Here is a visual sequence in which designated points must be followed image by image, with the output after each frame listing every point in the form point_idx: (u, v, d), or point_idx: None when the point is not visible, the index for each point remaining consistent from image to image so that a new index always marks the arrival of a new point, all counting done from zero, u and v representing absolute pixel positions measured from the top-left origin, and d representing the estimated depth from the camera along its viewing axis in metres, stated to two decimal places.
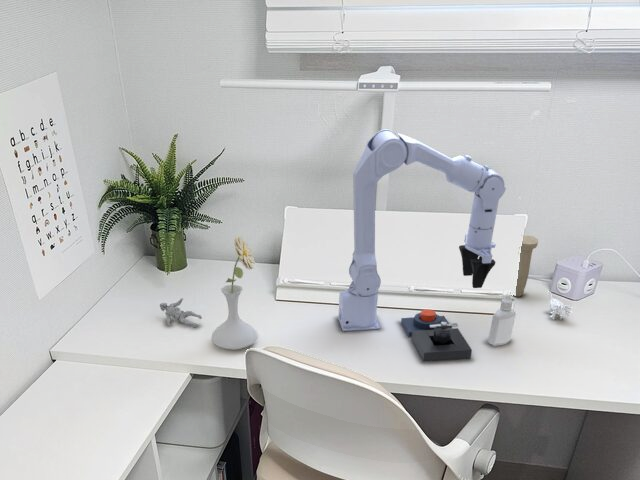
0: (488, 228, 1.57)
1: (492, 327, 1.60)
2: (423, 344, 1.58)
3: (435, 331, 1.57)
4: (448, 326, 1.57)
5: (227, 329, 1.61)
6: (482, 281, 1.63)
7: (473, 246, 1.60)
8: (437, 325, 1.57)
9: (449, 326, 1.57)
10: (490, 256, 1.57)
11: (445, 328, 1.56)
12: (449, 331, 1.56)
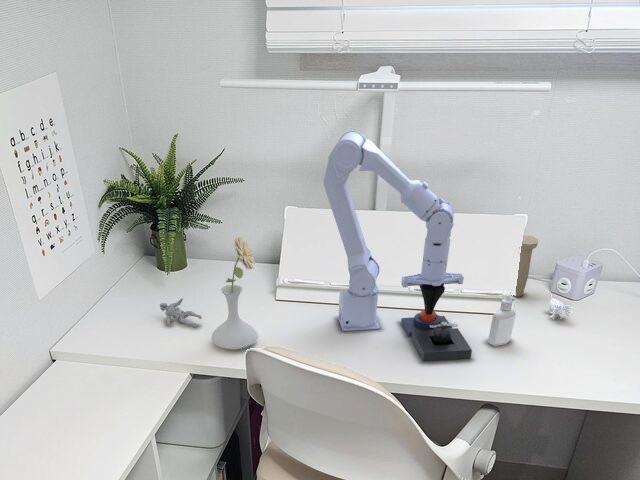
0: (437, 262, 1.56)
1: (492, 327, 1.60)
2: (423, 344, 1.58)
3: (435, 331, 1.57)
4: (448, 326, 1.57)
5: (227, 329, 1.61)
6: (426, 308, 1.65)
7: None
8: (437, 325, 1.57)
9: (449, 326, 1.57)
10: (403, 280, 1.60)
11: (445, 328, 1.56)
12: (449, 331, 1.56)
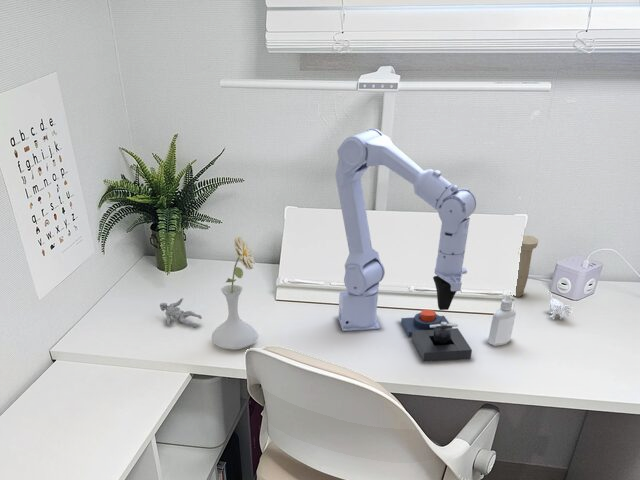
0: (449, 253, 1.46)
1: (492, 327, 1.60)
2: (423, 344, 1.58)
3: (435, 331, 1.57)
4: (448, 326, 1.57)
5: (227, 329, 1.61)
6: (448, 303, 1.55)
7: (442, 272, 1.49)
8: (437, 325, 1.57)
9: (449, 326, 1.57)
10: (459, 284, 1.45)
11: (445, 328, 1.56)
12: (449, 331, 1.56)
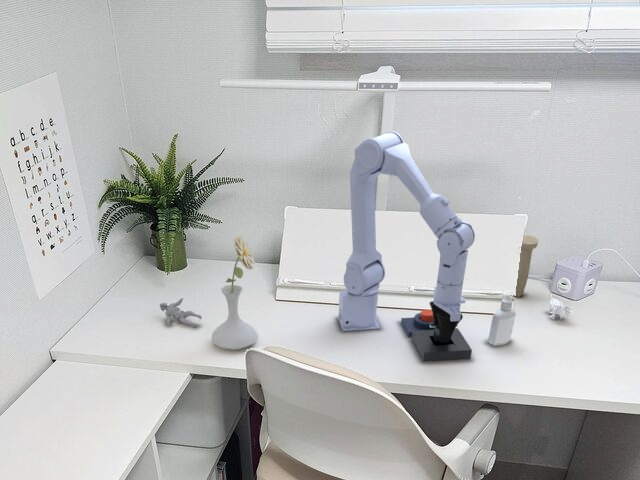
0: (447, 284, 1.48)
1: (492, 327, 1.60)
2: (423, 344, 1.58)
3: (435, 331, 1.57)
4: None
5: (227, 329, 1.61)
6: (450, 335, 1.56)
7: (441, 302, 1.51)
8: (437, 325, 1.57)
9: None
10: (459, 314, 1.48)
11: None
12: None
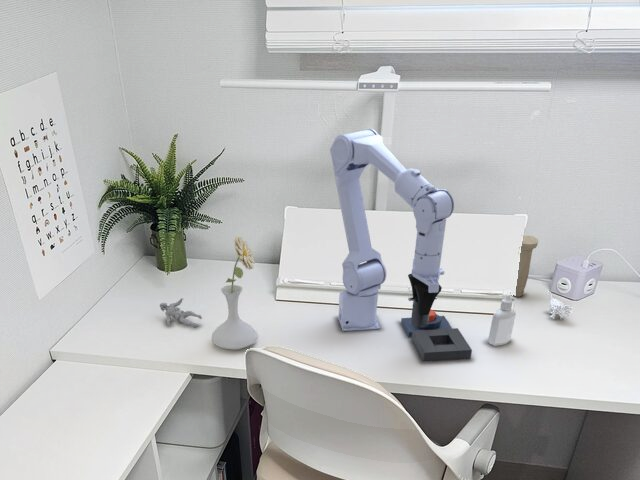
0: (422, 254, 1.44)
1: (492, 327, 1.60)
2: (423, 344, 1.58)
3: (414, 304, 1.53)
4: None
5: (227, 329, 1.61)
6: (429, 308, 1.51)
7: (419, 273, 1.47)
8: (416, 298, 1.52)
9: None
10: (437, 285, 1.43)
11: None
12: None
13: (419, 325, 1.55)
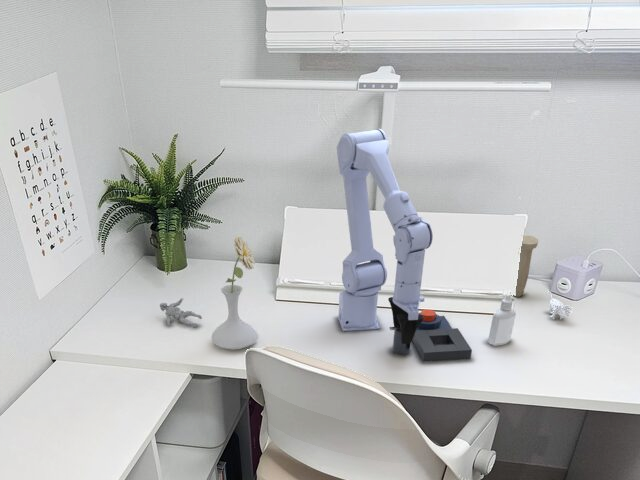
0: (400, 281, 1.48)
1: (492, 327, 1.60)
2: (423, 344, 1.58)
3: (395, 333, 1.57)
4: None
5: (227, 329, 1.61)
6: (411, 337, 1.54)
7: (400, 301, 1.50)
8: (397, 327, 1.56)
9: None
10: (416, 313, 1.47)
11: None
12: None
13: (400, 353, 1.59)
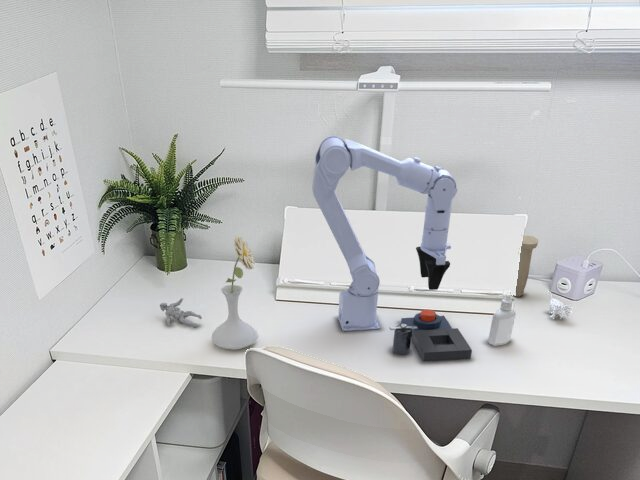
0: (441, 229, 1.55)
1: (492, 327, 1.60)
2: (423, 344, 1.58)
3: (395, 333, 1.57)
4: (408, 328, 1.56)
5: (227, 329, 1.61)
6: (438, 283, 1.62)
7: (428, 247, 1.58)
8: (397, 327, 1.56)
9: (409, 328, 1.56)
10: (444, 258, 1.55)
11: (405, 330, 1.56)
12: (409, 333, 1.56)
13: (400, 353, 1.59)
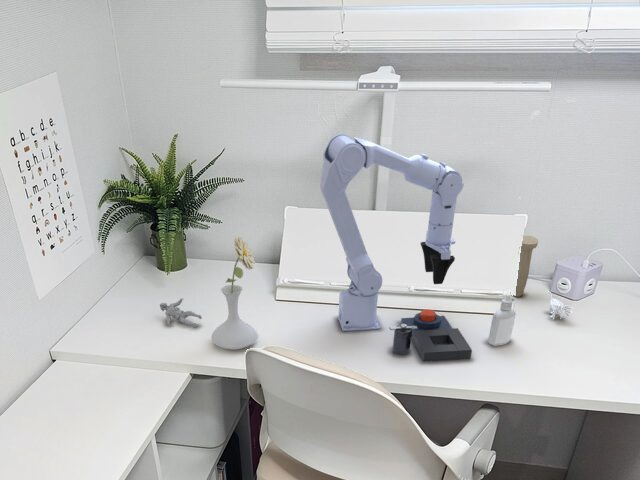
0: (448, 224, 1.58)
1: (492, 327, 1.60)
2: (423, 344, 1.58)
3: (395, 333, 1.57)
4: (408, 328, 1.56)
5: (227, 329, 1.61)
6: (442, 277, 1.64)
7: (433, 242, 1.61)
8: (397, 327, 1.56)
9: (409, 328, 1.56)
10: (449, 252, 1.58)
11: (405, 330, 1.56)
12: (409, 333, 1.56)
13: (400, 353, 1.59)
